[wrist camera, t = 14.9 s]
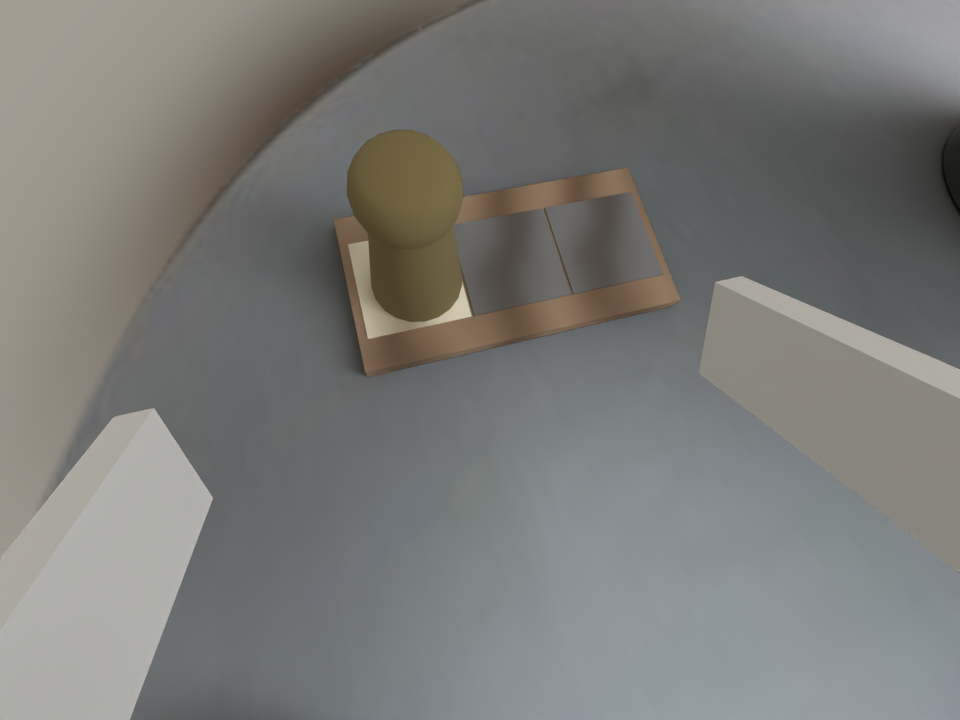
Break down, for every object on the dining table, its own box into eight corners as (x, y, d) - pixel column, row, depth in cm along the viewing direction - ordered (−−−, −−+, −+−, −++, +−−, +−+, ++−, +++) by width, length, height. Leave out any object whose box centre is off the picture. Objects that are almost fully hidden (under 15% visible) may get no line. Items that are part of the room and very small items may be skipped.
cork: (378, 329, 27) (338, 238, 17) (364, 245, 29) (319, 112, 18) (470, 313, 28) (488, 217, 18) (452, 232, 30) (459, 98, 19)
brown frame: (621, 178, 34) (628, 166, 32) (672, 306, 31) (681, 299, 30) (337, 229, 30) (333, 218, 29) (368, 376, 28) (364, 372, 27)
